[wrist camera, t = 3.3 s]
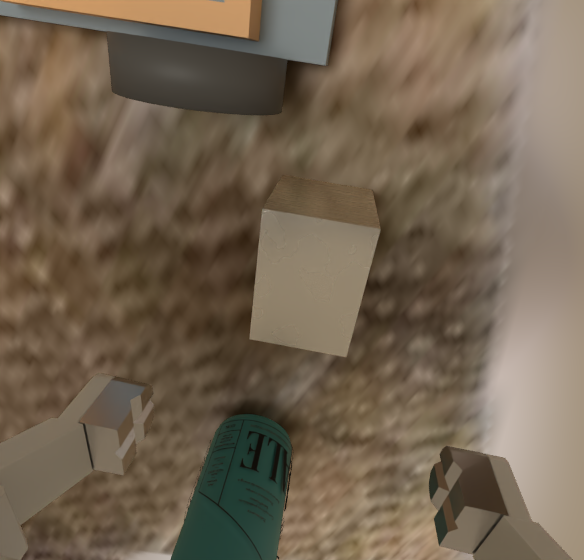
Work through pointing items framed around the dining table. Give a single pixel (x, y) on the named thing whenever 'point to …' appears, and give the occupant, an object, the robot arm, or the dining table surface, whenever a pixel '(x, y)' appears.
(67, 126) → the dining table surface
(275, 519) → the beverage bottle
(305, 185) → the block
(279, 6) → the chassis
